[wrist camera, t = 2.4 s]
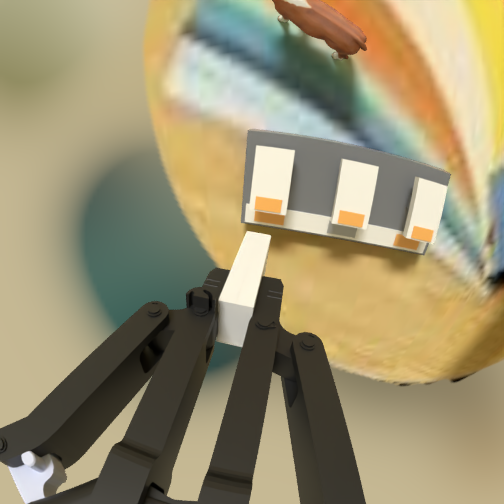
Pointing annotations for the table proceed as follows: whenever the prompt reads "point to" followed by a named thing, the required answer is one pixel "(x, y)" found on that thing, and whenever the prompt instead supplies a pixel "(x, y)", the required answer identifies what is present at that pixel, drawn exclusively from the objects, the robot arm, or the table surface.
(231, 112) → the table surface
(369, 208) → the switch middle
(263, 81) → the table surface
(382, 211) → the switch panel
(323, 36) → the bull figurine
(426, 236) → the switch
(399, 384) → the table surface
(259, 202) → the switch
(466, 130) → the table surface
